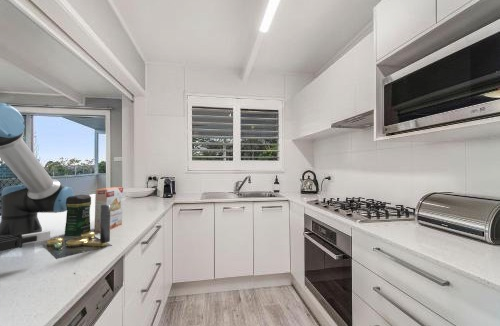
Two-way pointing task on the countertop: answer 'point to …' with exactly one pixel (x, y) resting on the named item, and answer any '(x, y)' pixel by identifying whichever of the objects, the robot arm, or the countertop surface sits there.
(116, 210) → the cracker box
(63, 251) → the levelling plate
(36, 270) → the countertop surface
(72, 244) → the crank handle
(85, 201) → the coffee jar
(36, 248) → the countertop surface
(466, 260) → the countertop surface
